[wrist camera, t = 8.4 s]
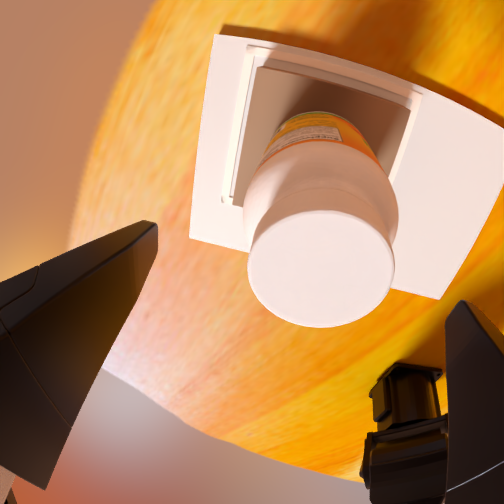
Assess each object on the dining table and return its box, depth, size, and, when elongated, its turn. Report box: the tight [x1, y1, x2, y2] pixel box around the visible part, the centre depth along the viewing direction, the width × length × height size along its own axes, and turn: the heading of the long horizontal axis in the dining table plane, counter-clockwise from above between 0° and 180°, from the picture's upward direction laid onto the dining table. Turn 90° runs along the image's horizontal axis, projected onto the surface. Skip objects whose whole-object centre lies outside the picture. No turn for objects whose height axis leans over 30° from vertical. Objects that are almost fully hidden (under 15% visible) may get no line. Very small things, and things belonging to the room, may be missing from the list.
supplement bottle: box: [243, 111, 399, 327], centre depth 12 cm, size 5×5×10 cm
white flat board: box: [189, 34, 504, 300], centre depth 19 cm, size 20×14×1 cm
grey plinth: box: [232, 66, 411, 207], centre depth 17 cm, size 8×8×2 cm
